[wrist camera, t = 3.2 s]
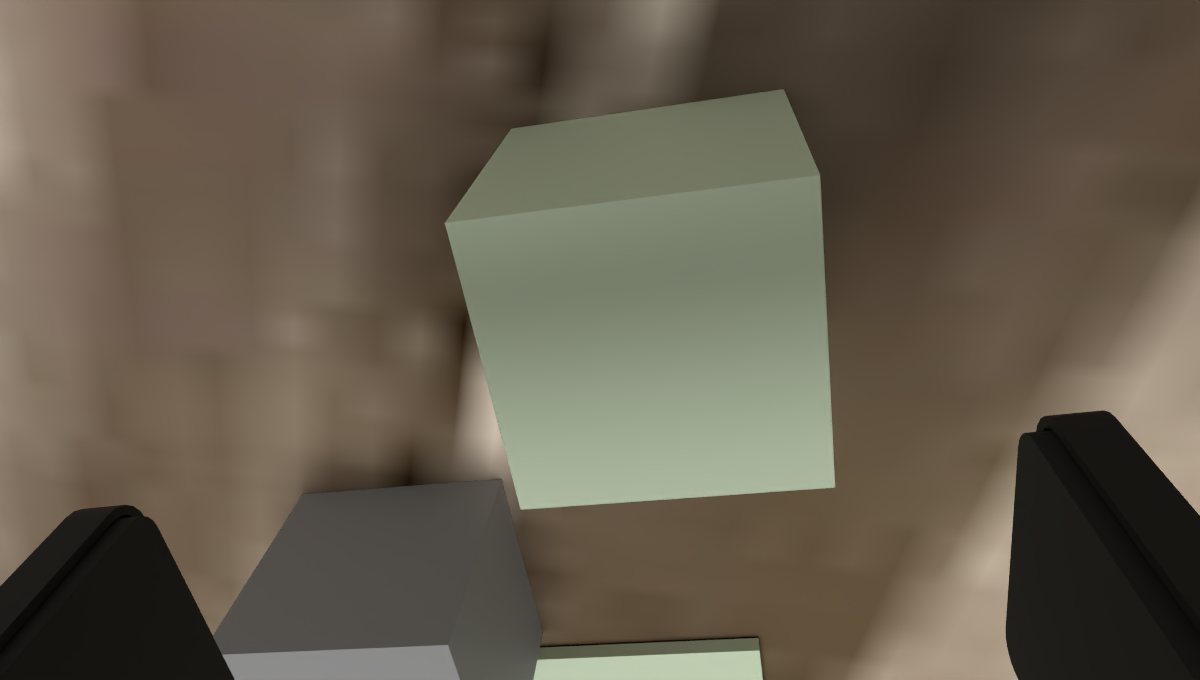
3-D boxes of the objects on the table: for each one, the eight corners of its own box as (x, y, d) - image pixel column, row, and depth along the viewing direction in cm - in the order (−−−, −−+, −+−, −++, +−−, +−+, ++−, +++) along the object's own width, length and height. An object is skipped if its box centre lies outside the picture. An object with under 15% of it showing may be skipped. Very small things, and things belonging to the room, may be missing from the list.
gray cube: (304, 491, 21) (200, 655, 16) (501, 476, 20) (448, 645, 16) (363, 638, 23) (286, 816, 19) (543, 630, 22) (506, 814, 18)
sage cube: (512, 127, 16) (445, 222, 12) (783, 88, 15) (820, 174, 11) (561, 357, 18) (520, 509, 14) (799, 334, 18) (835, 487, 13)
